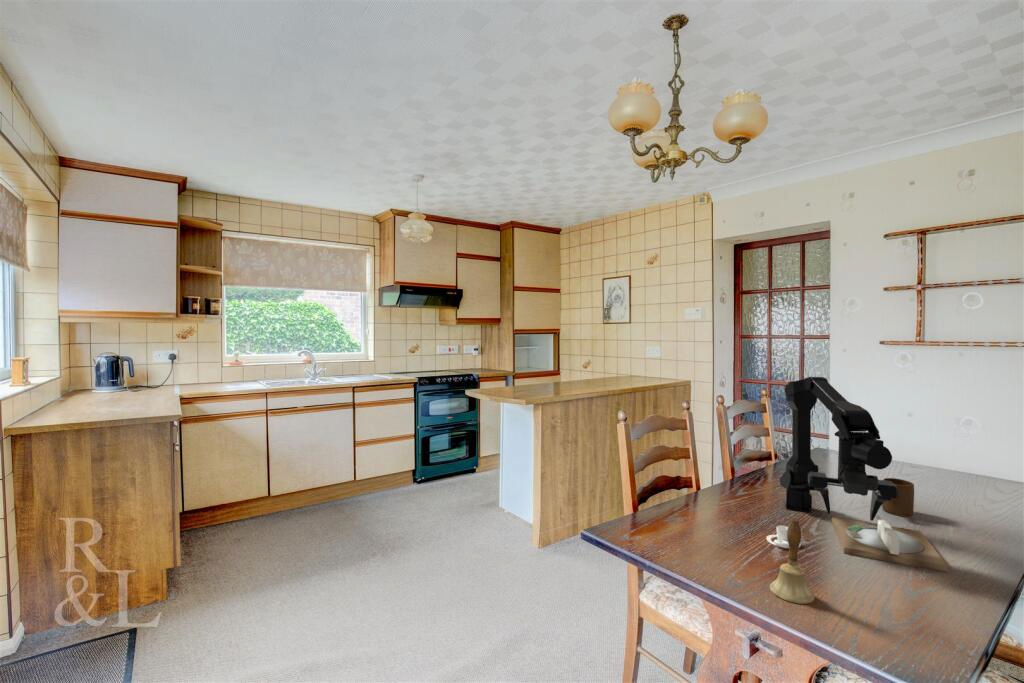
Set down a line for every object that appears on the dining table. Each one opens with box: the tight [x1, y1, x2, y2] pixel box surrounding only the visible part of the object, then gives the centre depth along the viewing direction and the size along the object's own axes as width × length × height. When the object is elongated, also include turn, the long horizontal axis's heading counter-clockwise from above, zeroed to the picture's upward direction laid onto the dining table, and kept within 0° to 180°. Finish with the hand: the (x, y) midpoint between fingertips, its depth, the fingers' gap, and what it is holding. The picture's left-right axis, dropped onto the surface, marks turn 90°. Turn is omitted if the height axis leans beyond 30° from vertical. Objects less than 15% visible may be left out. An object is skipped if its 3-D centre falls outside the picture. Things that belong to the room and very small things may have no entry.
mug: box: [881, 477, 915, 517], centre depth 146 cm, size 12×8×9 cm, turn 123°
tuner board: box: [831, 516, 949, 573], centre depth 125 cm, size 20×21×2 cm
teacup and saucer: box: [765, 524, 802, 549], centre depth 126 cm, size 9×8×4 cm
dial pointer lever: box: [875, 514, 899, 555], centre depth 123 cm, size 18×3×4 cm, turn 153°
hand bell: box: [769, 518, 815, 605], centre depth 102 cm, size 8×8×16 cm
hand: (849, 516), depth 125 cm, fingers open, 9 cm apart
